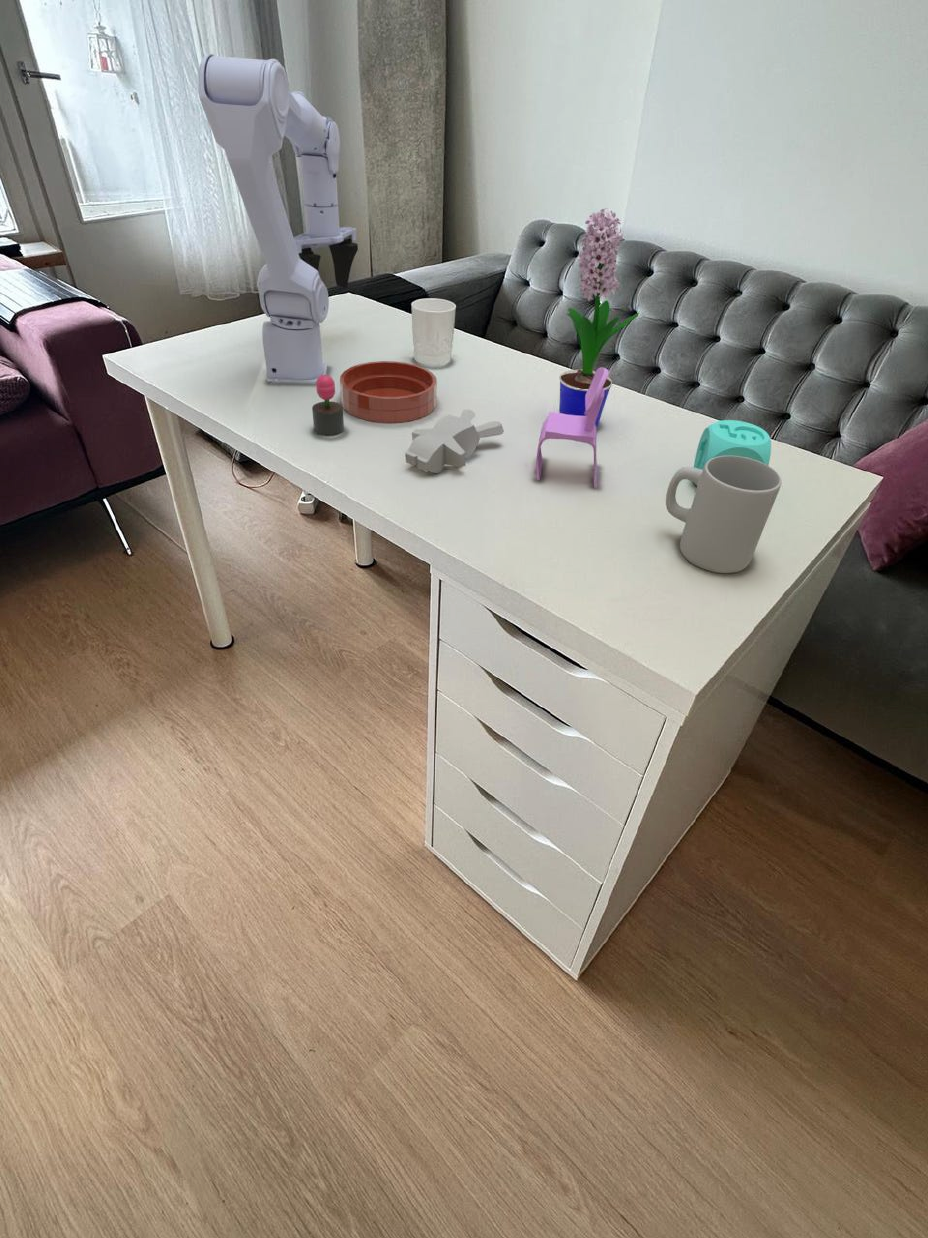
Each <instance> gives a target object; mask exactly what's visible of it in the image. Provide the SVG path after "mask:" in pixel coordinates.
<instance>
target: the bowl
mask: <svg viewBox="0 0 928 1238" xmlns="http://www.w3.org/2000/svg"><path fill="white" fill-rule="evenodd" d="M437 385H438V382H437V377H436V375H435V374H434V373H433V372H432V371H430V370H429V369H427V368H425V367H422V366H420V365H417V364H413V363H409V362H405V361H394V360H393V361H392V360H380V361H368V362H364V363H359V364H356V365H353V366H350V367H348V368H347V369H345V370H344V371H343V372H342V373H341V375H340V377H339V388H340V401H341V403H340V404H341V405H342V407H343V410H344V411H345V412H347V413H348V414H349V415H352V416H353V417H356V418H358V419H361V420H365V421H368V422H374V423H382V424H398V423H407V422H413V421H417V420H419V419H422V418H424V417H427V416H428V415H430V414H431V413H433V412H434V410H435V409H436V407H437V392H438V391H437V387H438V386H437Z"/></svg>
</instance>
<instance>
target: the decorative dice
mask: <svg viewBox="0 0 928 1238" xmlns="http://www.w3.org/2000/svg"><path fill="white" fill-rule="evenodd" d="M771 455H772V439H771V437H770V434H769V433H768V432H767V431H766V430H765V429H763V428H762V427H760V426H758V425H755V424H753V423H750V422H747V421H742V420H736V419H722V420H718V421H715V422H713V423H712V424H710V425H708V426H707V427H705V428H704V430H703V432H702V434H701V436H700V438H699V441H698V445H697V448H696V453H695V458H694V461H693V462H694V463H693V468H698V469H702V470H703V469H704V466H705V464H706V463H707V462H708V461H709V460H710V459H712V458H715V457H719V456H740V457H746V458H750V459H754V460H757V461H759V462H762V463H764V464H766V465H768V466H769V465H770V460H771Z"/></svg>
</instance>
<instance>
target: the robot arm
mask: <svg viewBox="0 0 928 1238" xmlns="http://www.w3.org/2000/svg"><path fill="white" fill-rule="evenodd" d="M198 96H199V101H200V104H201V106H202V109H203V111H204V115H205V116H206V119H207V123H208V124H209V127H210V130H211V133H212V135H213V138H214V141H215V142H216V144H217V145H218V146H219V147H221V148H222V149H223V150H224V151H225V156H226V159H227V161H228V164H229V168H230V170H231V172H232V176H233V178H234V181H235V183H236V186H237V189H238V192H239V194H240V197H241V200H242V203H243V205H244V208H245V211H246V213H247V216H248V219H249V222H250V225H251V227H252V230H253V233H254V236H255V238H256V241H257V244H258V246H259V249H260V252H261V254H262V257H263V259H264V262H265V264H264V265H263V266H262V267H261V268H260V271H259V272H258V276H257V281H256V286H257V290H258V295H259V304H260V308H261V309H262V311H263V313H264V315H265V316H266V317H267V318H269V320H270V321H263V322H262V329H261V332H262V333H261V335H262V347H263V354H264V355H263V356H264V360H265V361H264V362H265V369H266V376H267V383H268V384H269V383H270V382H294V383H295V382H297V383H298V382H299V383H316V381H317V379H318V378H319V377H320V376H321V375H327V368H328V364H325V363H324V362H323V351H322V338H321V329H320V326H321V325H320V324H322V323H324V321H325V319H326V318H327V316H328V312H329V308H330V307H329V305H330V299H329V291H328V288H327V286H326V285H325V283H324V282H323V281H322V279H321V276H320V273H319V267H320V262H321V261H320V260H321V256H322V255H320V254H317V253H315V252H314V251H313V249H318V248H322V247H328V248H329V251H330V254H331V259H332V262H333V271H334V279H335V284H336V286H337V287H340V288H348V285H349V278H350V273H351V269H352V265H353V262H354V260H355V257H356V254H357V253H358V251H359V245H358V243H356V242H355V241H357V228H356V227H351V226H343V227H340V213H339V212H340V211H339V196H338V180H337V173H338V172H339V168H340V164H339V159H340V158H339V156H340V148H341V147H340V146H341V138H340V131H339V127H338V124H337V122H336V121H333V119H332V117H330V116H322V115H321V114H320V112H319V111H318V110H317V109H316V108H315V107H314V106H313V105H312V104H311V103H310V101H309V100H308V99H307V98H306V95H305V93H304V92H303V91H298V90H297V91H294V90H293V91H292V92H291V91H290V85H289V80H288V76H287V73H286V69H285V67H284V66H282V64H281V63H280V61H279V60H278V59H276V58H269V59H259V58H246V57H245V58H244V57H234V56H219V55H215V54H213V53H207V54H204V56H203V57H202V59H201V62H200V63H199V67H198ZM284 138H287V139H288V140H289V143H290V144H291V146H292V150H293V153H294V155H295V158H299V167H300V176H301V177H300V178H301V189H302V199H303V210H304V211H303V212H304V222H305V223H304V224H305V232H303V233H301V234H299V235H296V236H294V235H293V231H292V229H291V228H292V227H291V225H290V222H289V218H288V215H287V213H286V209H285V206H284V203H283V200H282V196H281V193H280V189H279V187H278V183H277V181H276V176H275V174H274V171H273V167H272V163H271V161H270V157H272V156H273V155H274V154H275V153H278V151H280V150H281V149H282V148H283V144H284V143H283V142H284Z"/></svg>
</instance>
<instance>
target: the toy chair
mask: <svg viewBox="0 0 928 1238" xmlns="http://www.w3.org/2000/svg"><path fill="white" fill-rule="evenodd" d="M609 375H610V371H609V369H607V368H606V367H603V366H601V367H598V368H597V369H596V371H595V375H594V378H593V381H592V383H591V385H590V387H589V389H588V391H587V393H586V395H585V407H586V411H585V412H584V414H585V415H586V416H576V415H567V414H562V413H559V412H556V411H548V414H547V415H548V416H547V418H546V419H545V420H544V421H543V424H542V426H541V430H540V434H539V438H538V439H539V440H538V445H537V450H536V463H535V464H536V465H535V466H536V468H535V469H536V481H538V482H540V480H541V475H542V467H543V461H544V460H543V454H542V453H543V452H542V445H543V443H544V442H545V441H546V440H565V441H566V440H567V441H575V442H579V443H583V444H588V445H590V446H591V447H592V449H593V488H594V489H597V488H598V483H597V482H598V460H597V429H596V426H595V422H596V419H597V416H598V413H599V410H600V407H601V404H602V401H603V398H604V389H602V388H603V386H604V383H605V381H606V379H607V377H609Z"/></svg>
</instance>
